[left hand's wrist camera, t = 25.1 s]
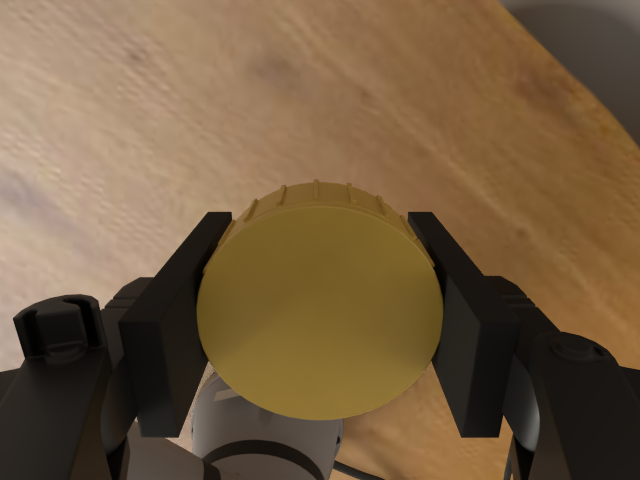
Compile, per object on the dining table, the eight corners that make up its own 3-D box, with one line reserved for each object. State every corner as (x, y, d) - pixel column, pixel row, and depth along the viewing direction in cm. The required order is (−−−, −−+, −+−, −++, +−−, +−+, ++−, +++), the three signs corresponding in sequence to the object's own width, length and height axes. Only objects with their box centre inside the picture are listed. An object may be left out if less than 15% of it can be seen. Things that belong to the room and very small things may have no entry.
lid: (333, 399, 13) (336, 457, 11) (174, 295, 12) (143, 339, 10) (469, 268, 12) (501, 309, 10) (301, 130, 10) (297, 143, 8)
